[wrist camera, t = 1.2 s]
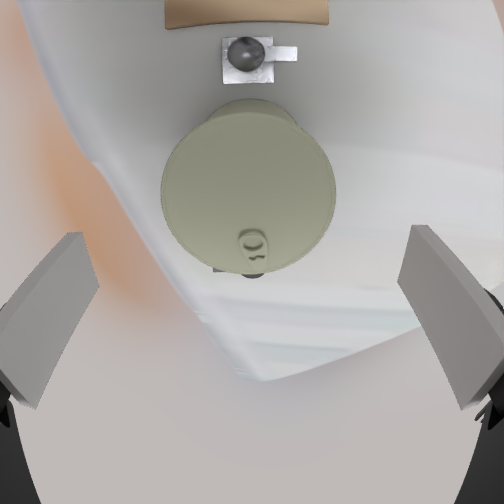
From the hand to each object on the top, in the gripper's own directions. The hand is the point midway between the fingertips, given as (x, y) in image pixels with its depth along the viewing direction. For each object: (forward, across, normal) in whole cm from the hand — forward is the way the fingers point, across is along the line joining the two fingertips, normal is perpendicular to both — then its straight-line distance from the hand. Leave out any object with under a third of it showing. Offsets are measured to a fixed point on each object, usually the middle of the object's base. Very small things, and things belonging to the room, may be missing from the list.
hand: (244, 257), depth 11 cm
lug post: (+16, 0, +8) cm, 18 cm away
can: (+16, 0, 0) cm, 17 cm away
